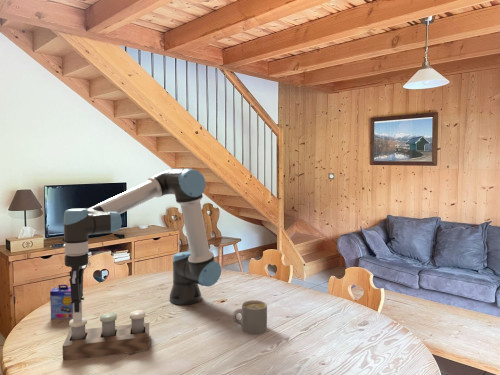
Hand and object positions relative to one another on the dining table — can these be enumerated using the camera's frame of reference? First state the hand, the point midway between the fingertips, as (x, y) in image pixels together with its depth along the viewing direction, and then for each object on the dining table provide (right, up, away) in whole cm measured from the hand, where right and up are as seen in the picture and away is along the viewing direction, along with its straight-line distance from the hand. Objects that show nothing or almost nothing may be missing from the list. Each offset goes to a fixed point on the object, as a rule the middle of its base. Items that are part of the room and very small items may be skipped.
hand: (77, 319), depth 133 cm
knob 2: (+19, -6, +6) cm, 21 cm away
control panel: (+10, -11, +3) cm, 15 cm away
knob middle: (+10, -7, +3) cm, 12 cm away
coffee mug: (+60, -10, +19) cm, 64 cm away
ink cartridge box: (-19, -9, +30) cm, 37 cm away
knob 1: (0, -7, +1) cm, 7 cm away
